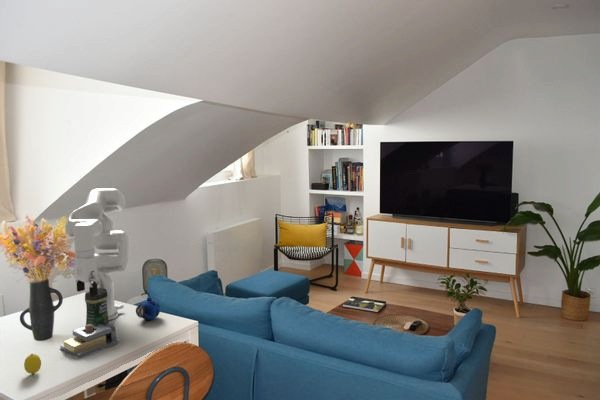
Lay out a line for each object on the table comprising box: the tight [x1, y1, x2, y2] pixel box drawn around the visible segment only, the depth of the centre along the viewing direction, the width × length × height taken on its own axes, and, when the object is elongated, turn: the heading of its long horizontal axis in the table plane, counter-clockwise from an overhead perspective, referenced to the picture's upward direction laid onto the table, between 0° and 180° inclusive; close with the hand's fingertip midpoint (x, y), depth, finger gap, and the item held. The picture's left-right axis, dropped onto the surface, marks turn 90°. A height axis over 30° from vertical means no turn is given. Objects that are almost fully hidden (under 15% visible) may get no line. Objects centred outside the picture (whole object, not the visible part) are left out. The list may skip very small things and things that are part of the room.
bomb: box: [135, 289, 161, 321], centre depth 237 cm, size 10×11×15 cm
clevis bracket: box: [59, 321, 120, 359], centre depth 209 cm, size 18×14×7 cm
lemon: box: [23, 353, 42, 375], centre depth 184 cm, size 6×6×8 cm
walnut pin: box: [84, 324, 93, 333], centre depth 208 cm, size 3×3×9 cm
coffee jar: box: [84, 288, 110, 326], centre depth 226 cm, size 10×8×19 cm
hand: (87, 293), depth 206 cm, fingers open, 9 cm apart
